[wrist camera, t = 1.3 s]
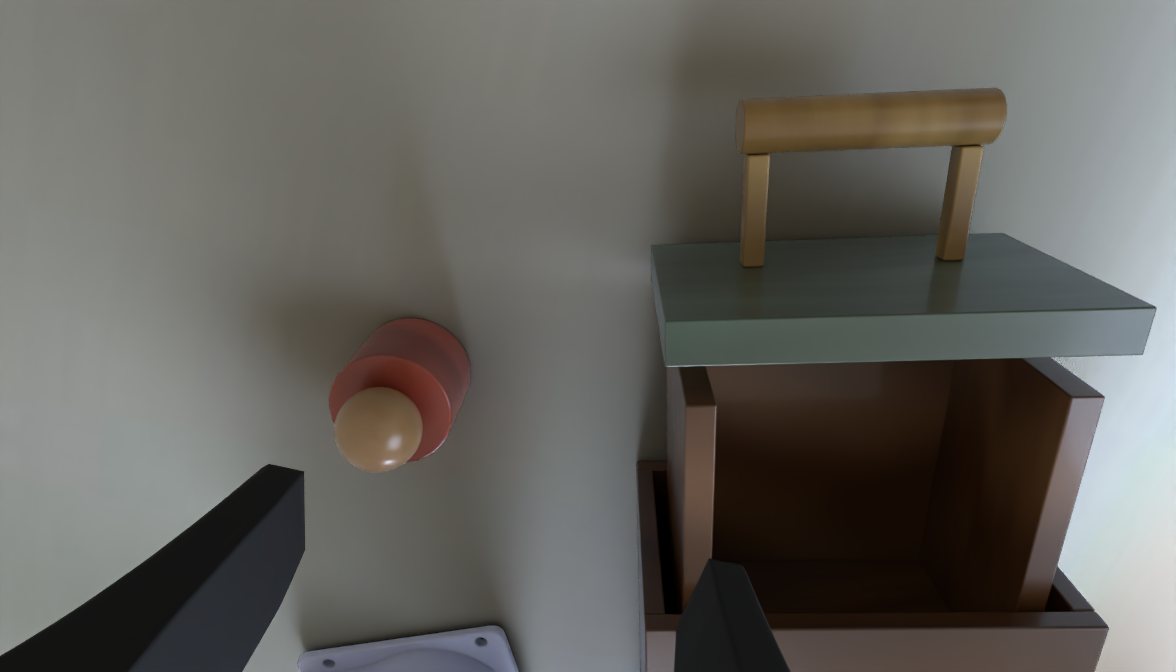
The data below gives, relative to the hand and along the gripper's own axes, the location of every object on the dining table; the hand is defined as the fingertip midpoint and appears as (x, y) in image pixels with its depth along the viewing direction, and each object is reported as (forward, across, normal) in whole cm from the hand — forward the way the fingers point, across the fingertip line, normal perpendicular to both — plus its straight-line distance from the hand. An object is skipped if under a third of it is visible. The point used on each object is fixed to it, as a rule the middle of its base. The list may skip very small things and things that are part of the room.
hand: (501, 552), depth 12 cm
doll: (+12, +5, +6) cm, 14 cm away
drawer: (+12, -9, +1) cm, 15 cm away
